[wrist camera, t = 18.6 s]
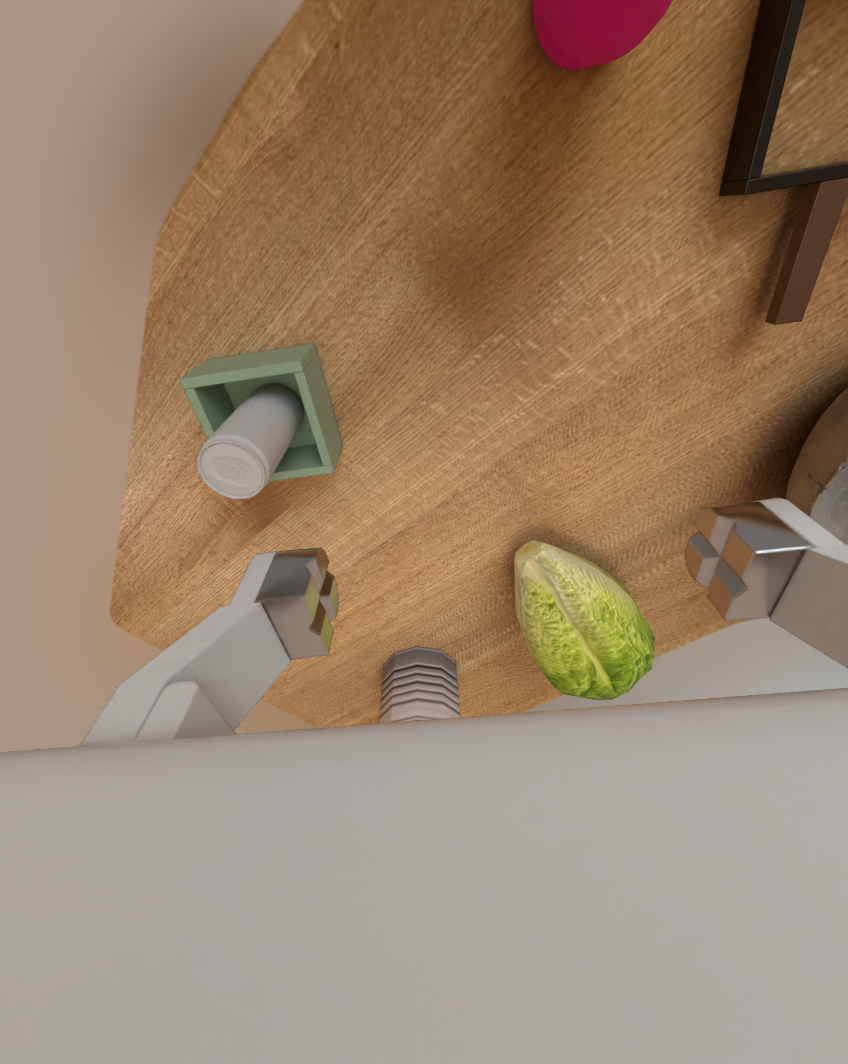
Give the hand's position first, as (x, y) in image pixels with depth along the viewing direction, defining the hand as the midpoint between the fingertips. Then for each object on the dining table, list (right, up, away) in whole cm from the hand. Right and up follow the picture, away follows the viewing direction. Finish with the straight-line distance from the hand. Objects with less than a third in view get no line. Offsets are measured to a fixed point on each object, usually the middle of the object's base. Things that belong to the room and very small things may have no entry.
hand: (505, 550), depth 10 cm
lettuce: (+15, -6, +44) cm, 47 cm away
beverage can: (-15, +12, +29) cm, 35 cm away
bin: (-15, +12, +30) cm, 35 cm away
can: (-2, -20, +54) cm, 58 cm away
